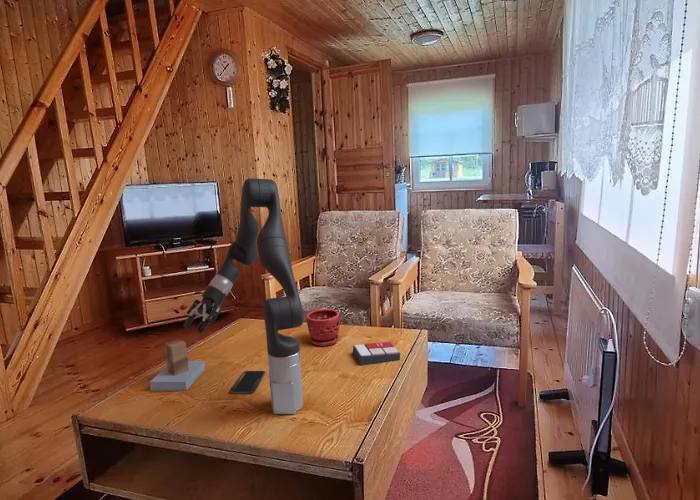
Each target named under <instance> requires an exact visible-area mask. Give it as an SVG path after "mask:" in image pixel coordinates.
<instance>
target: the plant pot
mask: <svg viewBox="0 0 700 500" xmlns="http://www.w3.org/2000/svg"><path fill="white" fill-rule="evenodd" d="M325 316H326V317H325ZM319 317H321V318H322V319H319ZM340 317H341V316H340V312H339V311H338V310H335V309H330V308H328V309H327V308H325V309H324V308H323V309H322V308H321V309H316V310H313V311H311V312H309V313H307V314H306V325H307V329H308V332H309V335H310V336H311V337H310V342H311V343H312V344H314V345H315V346H320V347H325V346H327V347H328V346H332V345H334V344H336V343H337V342H338V341H339V339H340V336H339V330H340V324H341V320H340Z"/></svg>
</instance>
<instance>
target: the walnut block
mask: <svg viewBox="0 0 700 500" xmlns="http://www.w3.org/2000/svg"><path fill="white" fill-rule="evenodd" d="M164 349H165V350H164V352H165V359H166V360H165V361H166V366H167V369H168V372H170V373H171V374H173V375H178V374H180V373H183V372H186V371H188V370H189V367H188V361H189V360H188V350H187V343H186V341H184V340H181V339H180V338H177V339H175V340H172V341H168V342H166V343H164Z"/></svg>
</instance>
